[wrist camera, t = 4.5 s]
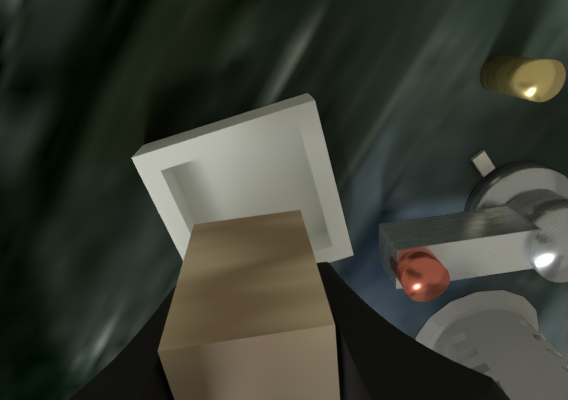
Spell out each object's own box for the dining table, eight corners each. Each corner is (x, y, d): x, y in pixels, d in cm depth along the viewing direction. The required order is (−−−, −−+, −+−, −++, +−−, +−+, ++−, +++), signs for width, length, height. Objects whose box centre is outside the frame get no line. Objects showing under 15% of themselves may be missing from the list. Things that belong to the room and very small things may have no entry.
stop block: (300, 209, 14) (335, 324, 8) (308, 294, 15) (342, 436, 10) (193, 224, 14) (157, 351, 8) (214, 308, 15) (195, 460, 10)
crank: (571, 184, 20) (641, 216, 17) (556, 244, 22) (617, 285, 19) (377, 211, 20) (406, 251, 16) (377, 271, 22) (403, 318, 18)
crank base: (466, 258, 24) (500, 292, 21) (450, 70, 19) (491, 77, 16) (555, 232, 24) (602, 262, 21) (564, 34, 19) (628, 35, 16)
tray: (207, 276, 23) (203, 300, 21) (143, 144, 19) (131, 157, 17) (344, 235, 23) (353, 255, 21) (307, 92, 19) (314, 99, 17)
